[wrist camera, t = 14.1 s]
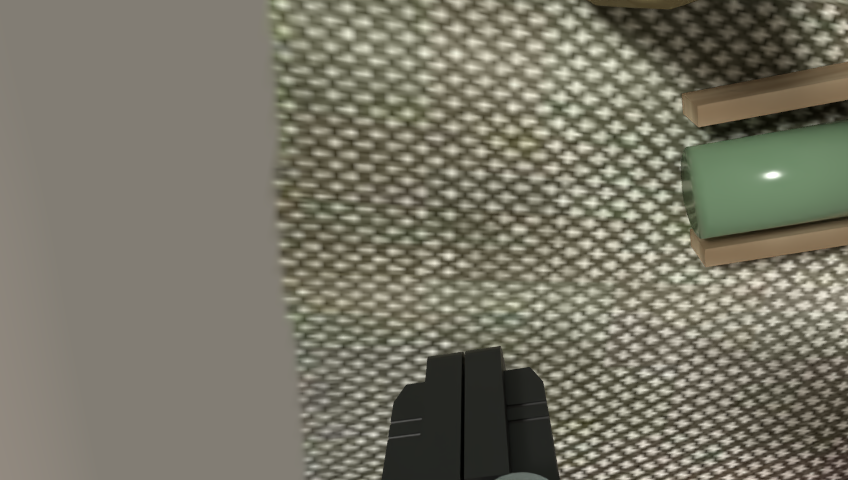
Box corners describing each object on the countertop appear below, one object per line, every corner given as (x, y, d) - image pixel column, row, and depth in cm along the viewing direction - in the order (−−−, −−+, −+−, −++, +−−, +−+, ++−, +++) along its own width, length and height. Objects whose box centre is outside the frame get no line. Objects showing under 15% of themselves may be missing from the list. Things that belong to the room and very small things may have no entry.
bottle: (709, 170, 36) (1045, 114, 34) (679, 132, 41) (973, 80, 38) (709, 256, 38) (1021, 208, 36) (681, 211, 43) (957, 166, 41)
